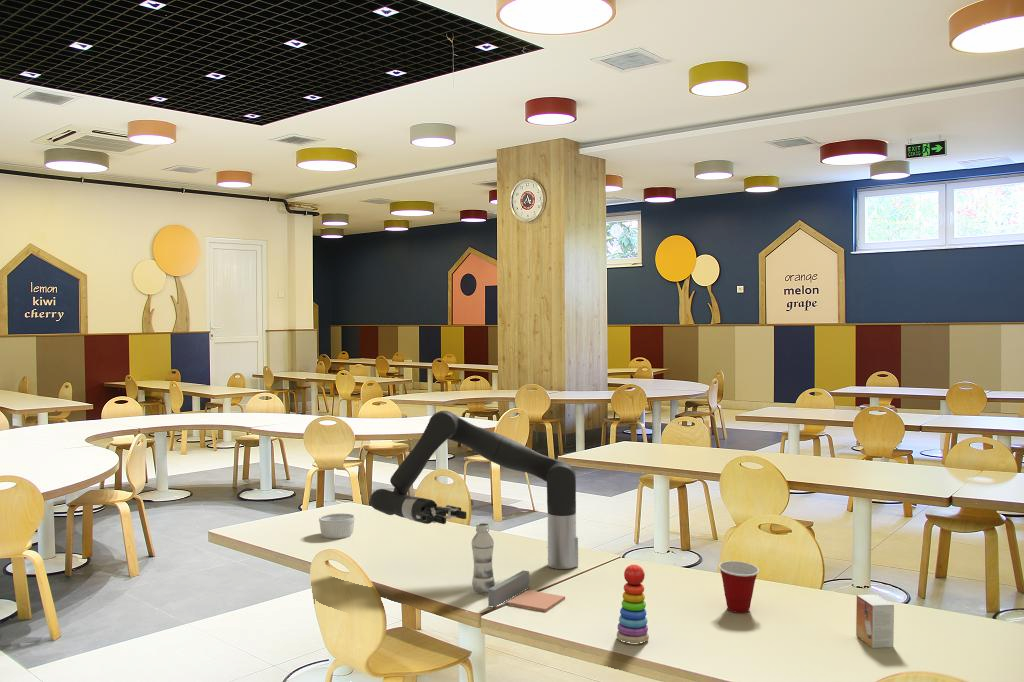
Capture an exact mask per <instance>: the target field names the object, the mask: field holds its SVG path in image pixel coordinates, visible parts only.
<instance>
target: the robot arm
mask: <svg viewBox="0 0 1024 682" xmlns="http://www.w3.org/2000/svg"><path fill="white" fill-rule="evenodd" d="M447 440H450V441H453V442H455V443H458V444H461V445H463V446H465V447H468V448H469V449H471V450H472V451H474V452H475V453H476V454H478V455H480V456H481V457H483V458H484V459H486V460H488V461H489V462H492V463H494V464H496V465H499V466H500V467H503V468H506V469H509V470H513V471H516V472H522V473H527V474H530V475H533V476H535V477H537V478H539V479H540V480H542V481H544V482H546V506H547V566H548V567H549V568H551V569H554V568H555V569H556V570H570V569H573V568H578V567H579V538H578V536H577V498H576V497H577V483H576V482H577V476H576V471H575V469H574V467H573V466H572V465H571V464H569V463H567V462H565V461H562V460H559V459H555V458H553V457H550V456H547V455H544V454H542V453H539V452H537V451H535V450H533V449H531V448H530V447H528V446H527V445H524V444H522V443H519V442H518V441H516V440H513V439H512V438H509V437H507V436H505V435H503V434H500V433H497V432H495V431H492V430H489V429H487V428H484V427H480V426H477V425H474V424H473V423H471V422H469V421H467V420H466V419H464V418H461V417H459V416H458V415H457V414H455V413H454V412H451V411H448V410H440V411H437V412H435V413H434V414H432V415H431V417H430V418H429V420H428V423H427V425H426V427H425V429H424V431H423V433H422V435H421V436H420V438H419V440H418V441H417V443H416V444H415V445H414V446H413V449H411V451H410V452H409V453H408V454H407V456H405V459H403V461H402V462H401V464H400V465H399V466H398V467H397V469H395V471H394V472H393V474H392V475H391V477H390V482H389V483H390V484H391V485H392V486H393V488H394V489H393V491H391V490H388V489H385V488H379V489H376V490H374V491H373V492H372V493H371V495H370V499H369V502H370V503H369V504H370V506H371V507H372V508H373V509H374V510H376V511H378V512H381V513H383V514H385V515H388V516H393V515H395V516H398V517H400V518H404V519H407V520H409V521H413V522H418V523H421V524H424V525H429V524H431V523H432V524H436V523H437V524H442V525H446V524H447V520H450V519H452V518H457V519H462V520H466V519H467V512H466V511H465V510H464V511H463V510H462V507H460V506H459V507H458V506H454V505H449V504H447V505H445V506H442V505H438V504H437V503H436V501H434V500H433V499H429V498H424V497H419V496H411V495H408V492H409V489H410V488H411V487H412V486H413V484H414V483H415V482H416V480H417V479H418V477H420V475H421V473H422V471H423V470H424V469H425V467H426V465H427V463H428V461H429V460H430V458H431V457H432V456H433V455H434V453H435V452H436V451H437V450H438V449H439V447H440V446H442V445H443V444H444V443H445V442H447Z"/></svg>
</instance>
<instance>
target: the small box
mask: <svg viewBox="0 0 1024 682" xmlns="http://www.w3.org/2000/svg"><path fill="white" fill-rule="evenodd" d="M855 615H856V616H855V618H856V620H855V621H856V622H855V624H856V625H855V636H856V637H857V638H859V639H860V640H862V641H863V642H864V643H865V644H866V645H868V646H869V647H870V648H871V649H880V648H881V649H882V648H884V649H885V648H894V636H895V635H894V633H895V632H894V629H895V626H894V625H895V624H894V623H895V620H894V619H895V605H894V604H893V603H891V602H889V601H888V600H887V599H885V598H883V597H882V596H880V595H879V594H857V595H856V613H855Z"/></svg>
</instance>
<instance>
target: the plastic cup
mask: <svg viewBox="0 0 1024 682" xmlns="http://www.w3.org/2000/svg"><path fill="white" fill-rule="evenodd" d="M718 568H719V570H720V575H721V579H722V580H721V581H722V585H723V590H724V591H723V592H724V597H725V601H726V607H727V609H728V611H730V612H732V613H737V614H743V613H746V614H747V613H749V611H750V609H751V603H752V599H753V594H754V588H755V583H756V579H757V577H758V574H759V573H760V569H759V567H757V566H756V565H754V564H752V563H749V562H744V561H738V560H727V561H726V560H725V561H723V562H720V563H719V564H718Z"/></svg>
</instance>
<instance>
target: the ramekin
mask: <svg viewBox="0 0 1024 682" xmlns="http://www.w3.org/2000/svg"><path fill="white" fill-rule="evenodd" d="M355 520H356V516H355V515H354V514H352V513H346V512H345V513H344V512H343V513H329V514H324V515H322V516H320V517H319V518H318V522H319V526H320V527H319V528H320V534H321V536H322V537H323V538H325V539H333V540H335V539H336V540H337V539H343V538H345V539H346V538H348V537H350V536H351V535H353V533H354V529H355Z"/></svg>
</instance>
